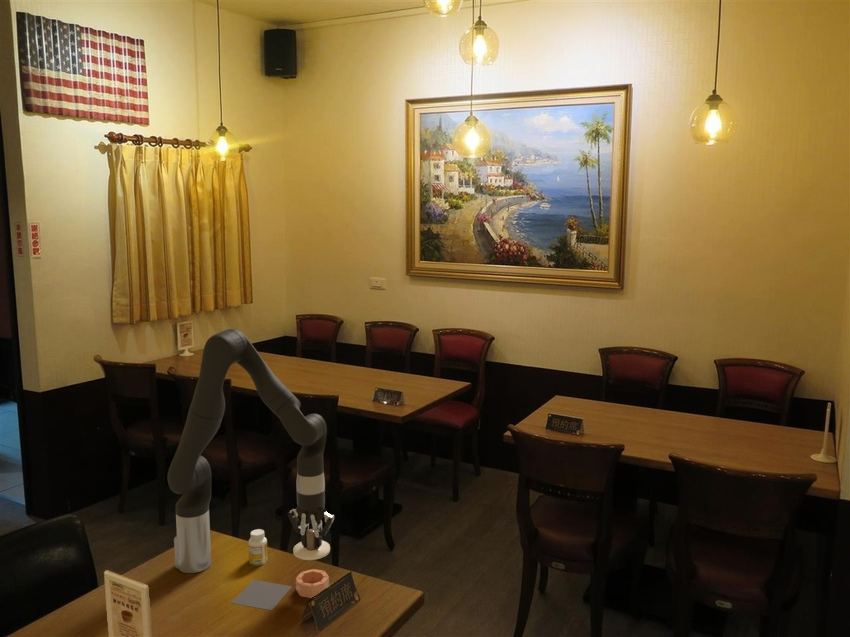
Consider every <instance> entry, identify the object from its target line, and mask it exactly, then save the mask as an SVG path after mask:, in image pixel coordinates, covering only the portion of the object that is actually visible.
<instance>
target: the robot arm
mask: <svg viewBox="0 0 850 637" xmlns="http://www.w3.org/2000/svg"><path fill="white" fill-rule="evenodd" d="M236 363H237V364H238V365H239V366H240V367H241V368H243V369H244V370H245V371H246V372H247V374H248V375H249V377H250V378H251V380H252V382H253V384H254V386H255V388H256V392H257V394H258V396H259V397H260V399H261V401H262V402H263V403H264V405H266V406H267V408H269V410H270V411H271V412H272V413H273V414H274V415H275V416H276V417H277V418H279V420H280V422H281V423H282V425H283V427H284V428H285V430H286V432H287V433H288V435H289V436H290V438H291V439H292V440H293V441H294V442H295V443H296V444H298V445H300V446H301V449H300V450H299V452H298V454H297V457H296V458H297V459H296V472H297V473H296V474H297V475H296V505H297V507H296V508H295V509H294V508H292V509H291V510H289V512H287V517H288V520H289V522H290V523H291V526H292V528H293V531H294V532H295V533H299V534H300V535H301V540H300V542H302V545H303V547H304V548H307V545H306V531H307V530H308V529H309V527H310V526H309V525H311V527H312V529H313V530H314V533H315V537H314V546H315V549H316V550H318V548H319V547H320V546H321V545H322V541H323V539H322V538H323V537H325V536H326V534H328V533H329V531H330V528H331V526H332V524H333V523H334V521H335V518H336V516H335V514H330V513H328V512H327V508H326V507H325V505H326V494H325V492H326V489H325V487H326V483H325V482H326V481H325V472H324V452H325V448H326V442H327V433H328V431H327V428H328V427H327V423H326V421H325V419H324V418H323V416H322V415H321V414H318V413H310V414H307V415H306V416H305V415H304V414H303V413H302V411H301V410H300V408H301V406H302V405H301V404H302V403H301V401H300V400H299V399H298V398H297V397H296V396H295V394H293V393H292V392H291V390H289V389H288V387H286V386H285V385H284V384H283V382H282V381H281V380H280V379H279V378H278V377H277V376H276V375H275V373H274V372H273V371H272V370H271V369H270V367H269V366H268V364H267V362H266V361H265V360H264V359H263V358H262V356H261V355H260V353H259V352H258V351H257V349H256V348H255V346H254V345H253V343H252V342H251V340H249V338H248V337H247V336H246V334H244V333H243V332H242V331H240V330H239V329H237V328H228V329H226V330H222V331H220V332H217V333H214V334H213V335H211V336H210V337H208V338H207V340H206V342H205V344H204V347H203V351H202V357H201V363H200V371H199V374H198V380H197V383H196V386H195V389H194V393H193V397H192V401H191V403H190V405H189V409H188V412H187V415H186V416H187V418H186V421H185V423H184V424H185V425H184V428H183V431H182V435H181V437H180V441H179V444H178V446H177V448H176V451H175V453H174V455H173V458H172V460H171V463H170V466H169V467H168V470H167V483H168V487H169V489H170V490H171V491H172V493H174V494H177V495H182V496H180V498H179V499H178V500H177V502H176V504H175V521H176V522H175V523H176V524H175V526H176V535H175V537H174V538H173V544H174V562H175V563H174V564H175V568H176V569H178V570H179V571H181V573H185V574H196V573H201V572H203V571H205V570H207V569H209V568H210V567H211V565H212V552H211V551H212V549H211V528H210V502H211V500H212V469H211V465H210V463H209V461H208V459H207V458H205V457H204V456H203V455H202V453H203V451H204V450H205V449H206V448H207V446H208V445H209V443H210V442H211V441H212V440H213V438H214V437H215V435H216V434H217V433H218V431H219V429H220V427H221V423H222V420H223V417H224V414H225V410H226V398H225V395H224V390H223V388H224V384H225V383H224V382H225V380H226V377H227V374H228V371H229V369H230V368H231V366H232V365H234V364H236ZM323 518H324V522H325V524H324V526H323V521H322V519H323Z"/></svg>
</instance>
